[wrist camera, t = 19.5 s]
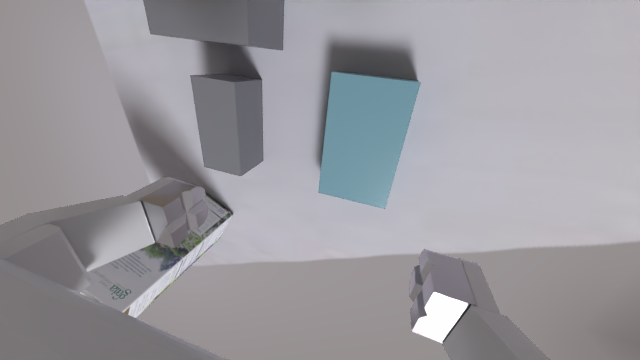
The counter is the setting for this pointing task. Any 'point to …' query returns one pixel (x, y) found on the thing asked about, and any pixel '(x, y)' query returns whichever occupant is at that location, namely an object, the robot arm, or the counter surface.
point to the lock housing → (221, 89)
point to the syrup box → (154, 266)
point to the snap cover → (365, 135)
